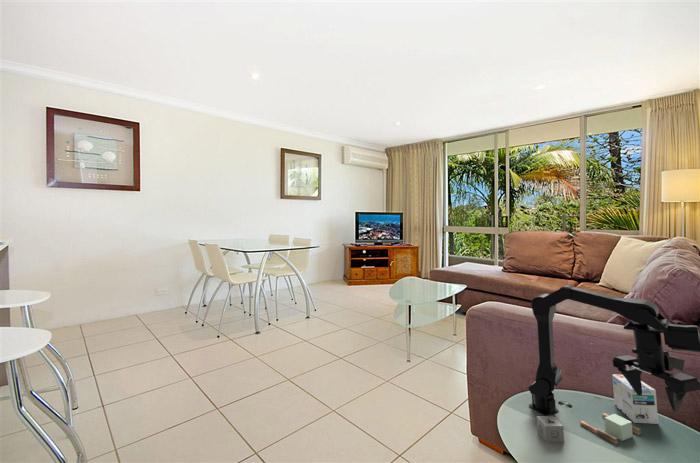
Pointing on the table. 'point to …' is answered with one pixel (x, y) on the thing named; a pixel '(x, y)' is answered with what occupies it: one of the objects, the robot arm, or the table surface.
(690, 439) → the table surface
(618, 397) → the light bulb box
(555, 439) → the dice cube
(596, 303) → the robot arm
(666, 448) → the table surface
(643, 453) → the table surface
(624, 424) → the sage block
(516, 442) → the table surface
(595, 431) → the pair of wooden sticks
